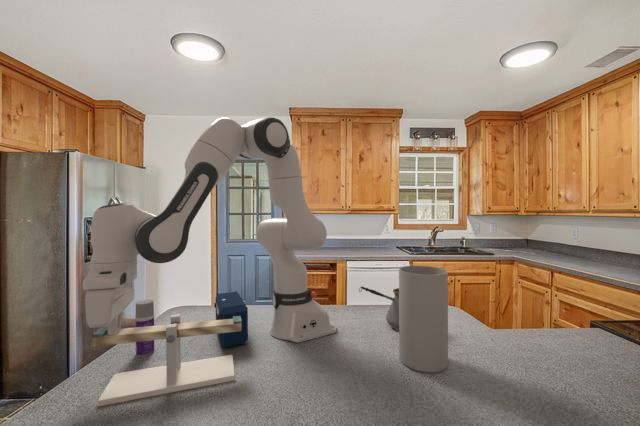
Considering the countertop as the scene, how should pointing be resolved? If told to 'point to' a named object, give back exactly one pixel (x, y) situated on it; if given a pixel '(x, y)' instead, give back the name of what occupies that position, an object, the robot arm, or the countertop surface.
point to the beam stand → (168, 374)
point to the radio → (228, 308)
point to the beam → (160, 331)
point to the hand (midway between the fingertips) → (114, 332)
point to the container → (144, 325)
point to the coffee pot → (393, 311)
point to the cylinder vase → (423, 318)
